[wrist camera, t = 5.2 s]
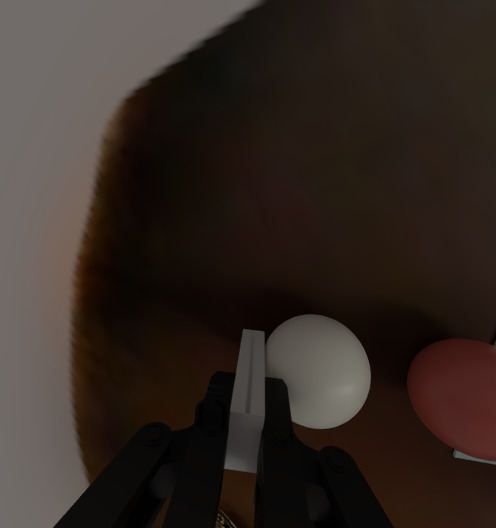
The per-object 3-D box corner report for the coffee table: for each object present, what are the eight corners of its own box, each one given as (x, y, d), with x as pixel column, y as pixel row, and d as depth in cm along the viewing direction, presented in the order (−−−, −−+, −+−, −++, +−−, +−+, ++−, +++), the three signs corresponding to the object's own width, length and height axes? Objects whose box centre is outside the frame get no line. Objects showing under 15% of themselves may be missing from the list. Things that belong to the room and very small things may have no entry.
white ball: (321, 296, 19) (407, 337, 14) (306, 371, 20) (379, 433, 15) (249, 303, 15) (326, 360, 10) (236, 391, 17) (299, 479, 12)
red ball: (500, 328, 17) (621, 395, 11) (470, 408, 18) (563, 505, 12) (402, 314, 17) (469, 372, 11) (380, 393, 18) (430, 481, 13)
